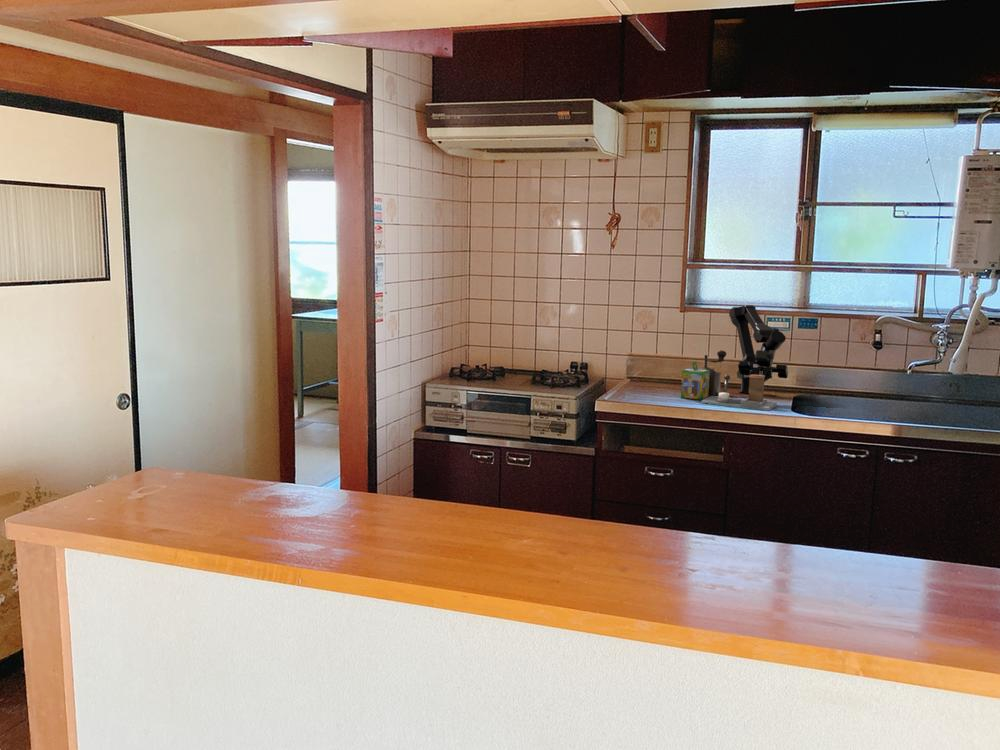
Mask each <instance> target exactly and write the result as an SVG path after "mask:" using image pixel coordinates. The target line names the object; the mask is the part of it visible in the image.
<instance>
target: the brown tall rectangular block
mask: <svg viewBox="0 0 1000 750" xmlns="http://www.w3.org/2000/svg"><path fill="white" fill-rule="evenodd" d="M749 377H750V379H749V394H748V397H747V398H748V401H755V402H759V403H760V402H762V401H763V400H764V390H765V382H764V378H765V376H764V375H762V374H761V375H753V374H751V375H749Z"/></svg>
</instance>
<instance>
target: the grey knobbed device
mask: <svg viewBox="0 0 1000 750" xmlns="http://www.w3.org/2000/svg"><path fill="white" fill-rule="evenodd" d="M716 355H717V356H718V358H717V360H712V359H711V360H710V359H708V356H709V355H708V354H705V355H704V359H703V360H704V367H701V368H699V369H703V370H710V375H709V395H708V396H714V395H716V396H719V393H721V378H722V377H721V376H722V371H715V370H714V369H715V368H714V367H713V368H711V367H708V363H713V364H714V363H716V364H717V363H722V362H725V357H726V356H727V352H726V351H725V350H717V352H716Z"/></svg>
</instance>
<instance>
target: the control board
mask: <svg viewBox="0 0 1000 750" xmlns="http://www.w3.org/2000/svg"><path fill="white" fill-rule="evenodd" d="M703 403H708V404H707V405H712V404H715V405H714V406H721V405H723V407H730V406H731V407H733V408H739V407H742V408H743V409H749V408H751V409H750V410H758V411H766V412H767V411H768V412H769V411H771V410H772V409H773V408H775V407H776V406H777V405H778V402H775V401H774V402H773V401H768V399H763V401H762V402H760V403H759V402H755V401H748V397H746V398H738V397H730V393H729V392H726V393H724V392H723V391H722V392H721V391H720V393H719V394H718V395H716V396H710V397H708V398H705V399H703V400H700V404H703ZM742 408H741V409H742Z"/></svg>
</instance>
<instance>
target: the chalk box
mask: <svg viewBox="0 0 1000 750" xmlns="http://www.w3.org/2000/svg"><path fill="white" fill-rule="evenodd" d="M691 363H692V368H686V369H683V370H681V387H680V391H681V392H680V399H685V398H689V400H700V401H702V400H704V399H706V398H707V397H708V395H709V375H710V370H703V369H700V368H698V365H697V361H692V362H691Z"/></svg>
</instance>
